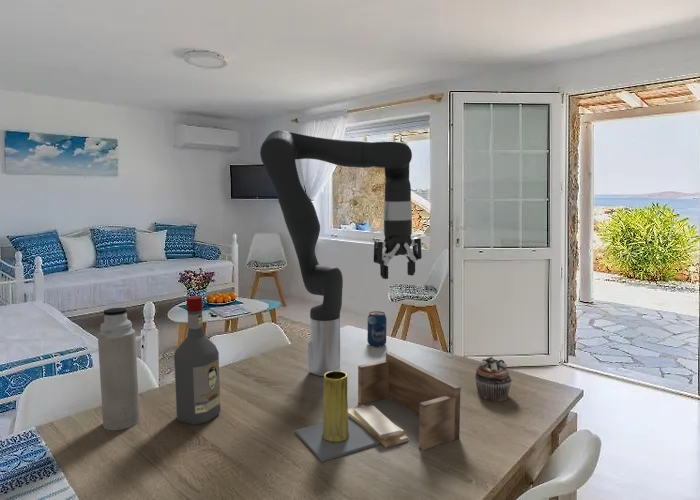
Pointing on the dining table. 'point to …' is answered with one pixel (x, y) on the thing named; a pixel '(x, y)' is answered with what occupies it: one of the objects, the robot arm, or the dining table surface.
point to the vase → (335, 407)
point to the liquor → (196, 371)
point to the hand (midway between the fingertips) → (398, 276)
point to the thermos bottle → (118, 371)
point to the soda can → (376, 329)
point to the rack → (407, 402)
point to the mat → (336, 449)
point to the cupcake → (493, 380)
